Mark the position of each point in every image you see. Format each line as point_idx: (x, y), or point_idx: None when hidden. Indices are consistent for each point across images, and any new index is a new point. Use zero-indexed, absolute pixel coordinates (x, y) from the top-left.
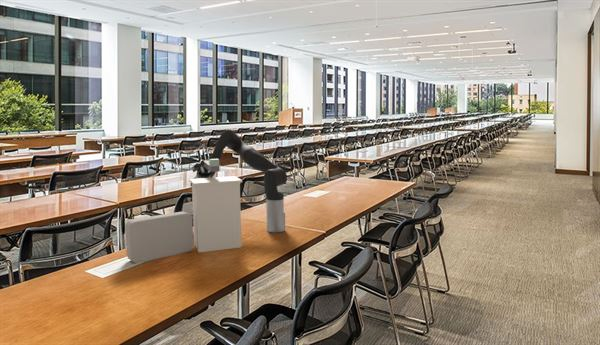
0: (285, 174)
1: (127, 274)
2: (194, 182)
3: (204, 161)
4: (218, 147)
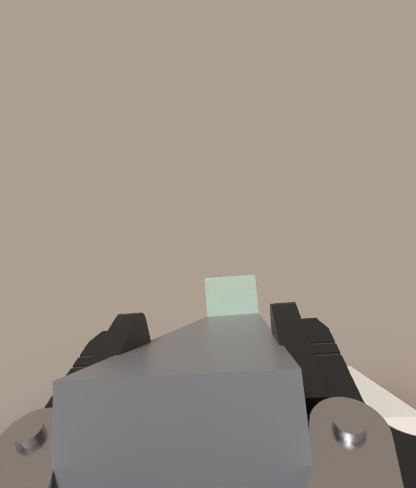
0: None
1: None
2: (350, 372)
3: (258, 341)
4: None
